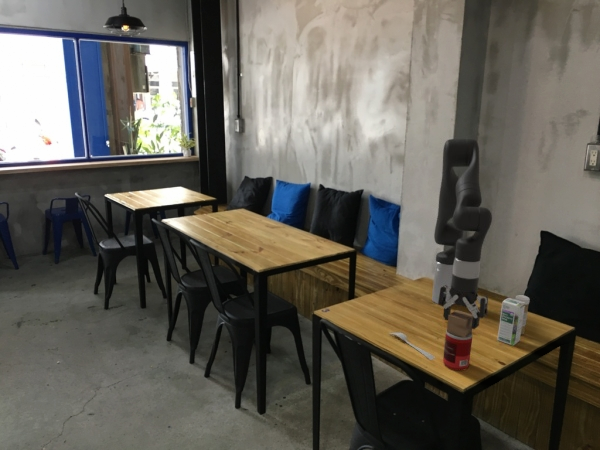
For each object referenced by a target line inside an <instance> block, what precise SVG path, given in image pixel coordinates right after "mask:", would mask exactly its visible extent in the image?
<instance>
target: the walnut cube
mask: <svg viewBox="0 0 600 450" xmlns="http://www.w3.org/2000/svg"><path fill="white" fill-rule="evenodd" d="M472 319H473V315H472V313H467V312H464V311H461V310H458V309H456V310H454V311H453V312H450V315H448V320H447V327H446V330H447V332H448V333H451V334H454V335H457V336H460V337H463V338H465V337H466V336H467V335H468V334H470V333H471V332H472V333H473V329H472V328H471V327H472Z"/></svg>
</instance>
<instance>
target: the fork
mask: <svg viewBox="0 0 600 450" xmlns="http://www.w3.org/2000/svg"><path fill="white" fill-rule="evenodd" d="M389 335H392V336H393V335H395V336H397V337H398V338H400V339H401V340H403V341H405V342H406V344H408V345H409V346H411V347H412V348H413V349H415V350H417V351H418V352H419V353H421V354H422V355H423V356H425V357H426V358H427V359H428V360H430V361H431V360H434V359H436V357H435V356H434V355H433V354H431V353H430V352H428V351H426V350H424V349H421V348H419V347H418V346H416V345H414V344H412V343H411V342H409V341H408V336H407V335H406V334H405V333H402V332H391V333H389Z"/></svg>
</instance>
